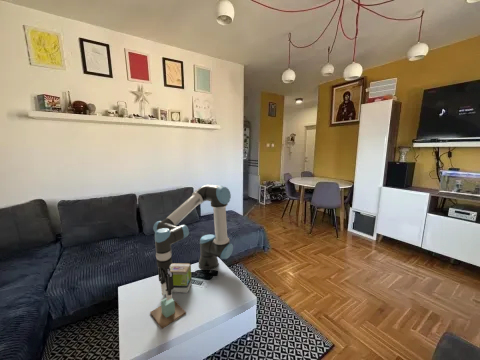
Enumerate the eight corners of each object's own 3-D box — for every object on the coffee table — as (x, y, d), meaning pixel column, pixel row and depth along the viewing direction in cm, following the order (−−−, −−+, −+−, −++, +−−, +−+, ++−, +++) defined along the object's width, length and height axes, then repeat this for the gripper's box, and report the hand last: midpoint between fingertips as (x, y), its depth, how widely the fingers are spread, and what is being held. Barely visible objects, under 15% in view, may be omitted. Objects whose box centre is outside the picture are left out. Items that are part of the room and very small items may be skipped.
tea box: (192, 282, 142) (191, 263, 139) (187, 293, 132) (186, 272, 130) (170, 282, 143) (169, 262, 140) (164, 292, 133) (162, 271, 130)
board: (173, 300, 126) (173, 298, 126) (185, 313, 117) (185, 311, 116) (150, 313, 117) (150, 312, 116) (161, 329, 107) (161, 327, 107)
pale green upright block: (170, 307, 120) (169, 295, 118) (175, 312, 116) (174, 300, 115) (161, 312, 116) (160, 300, 114) (166, 318, 112) (165, 305, 111)
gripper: (150, 254, 114) (153, 291, 118) (165, 267, 102) (168, 309, 106) (163, 249, 119) (165, 285, 124) (179, 261, 107) (181, 301, 111)
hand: (166, 296), depth 115 cm, fingers open, 5 cm apart
